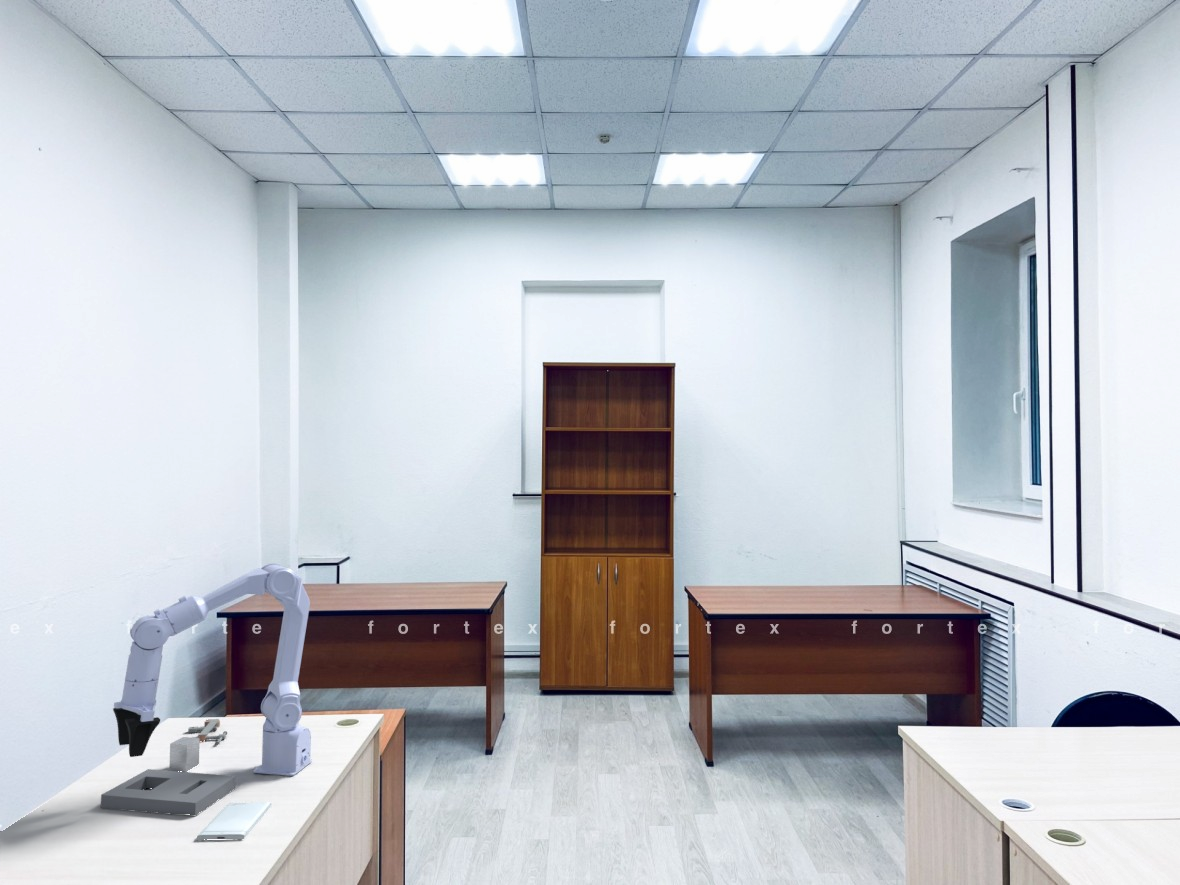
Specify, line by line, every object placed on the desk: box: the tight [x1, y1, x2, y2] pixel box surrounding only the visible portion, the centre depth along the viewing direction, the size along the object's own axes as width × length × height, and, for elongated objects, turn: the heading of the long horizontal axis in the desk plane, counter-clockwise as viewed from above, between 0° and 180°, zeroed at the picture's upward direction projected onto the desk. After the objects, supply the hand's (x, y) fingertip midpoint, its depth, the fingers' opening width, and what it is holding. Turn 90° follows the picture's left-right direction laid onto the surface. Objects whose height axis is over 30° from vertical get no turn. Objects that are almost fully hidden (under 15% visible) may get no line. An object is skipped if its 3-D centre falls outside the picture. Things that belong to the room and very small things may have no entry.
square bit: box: [168, 736, 201, 772], centre depth 157 cm, size 4×4×6 cm
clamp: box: [187, 718, 228, 746], centre depth 176 cm, size 15×2×10 cm
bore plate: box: [100, 768, 237, 816], centre depth 143 cm, size 20×12×2 cm, turn 82°
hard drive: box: [196, 801, 272, 841], centre depth 134 cm, size 2×8×12 cm
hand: (130, 749), depth 141 cm, fingers open, 7 cm apart
